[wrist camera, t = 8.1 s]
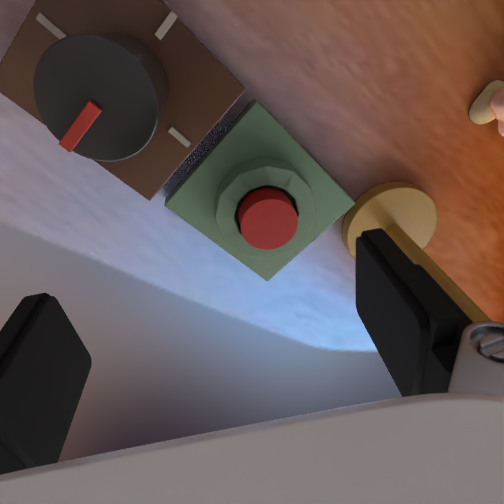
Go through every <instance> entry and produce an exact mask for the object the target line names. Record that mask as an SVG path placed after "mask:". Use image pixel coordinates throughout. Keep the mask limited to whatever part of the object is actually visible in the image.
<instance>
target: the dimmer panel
mask: <svg viewBox="0 0 504 504" xmlns="http://www.w3.org/2000/svg"><path fill="white" fill-rule="evenodd" d="M177 17H178V16H177V15H176V14H175V13H174V12H173V11H171V10H170V9H169V8H168V7H167V6H166V5H165V4H164V3H163V2H162V1H161V0H36V1H35V3H34V5H33V6H32V8H31V10H30V12H29V14H28V15H27V17H26V19H25V21H24V22H23V24H22V26H21V28H20V29H19V31H18V33H17V35H16V36H15V38H14V40H13V42H12V43H11V45H10V47H9V49H8V50H7V52H6V54H5V56H4V57H3V59H2V61H1V63H0V93H2V94H3V95H5V96H6V97H7V98H9V99H10V100H11V101H13V102H14V103H16V104H17V105H18V106H20V107H21V108H23V109H24V110H25V111H27V112H28V113H29V114H31V115H32V116H34V117H35V118H36V119H38V120H39V121H40V122H42V123H43V124H45V123H44V121H43V120H42V118H41V116H40V114H39V111H38V108H37V106H36V102H35V98H34V90H33V79H34V73H35V69H36V66H37V63H38V61H39V59H40V57H41V56H42V54H43V53H44V52H45V50H46V49H47V48H48V47H49V46H50V45H52V44H53V43H55V42H56V41H58V40H59V39H62V38H64V37H67V36H71V35H75V34H92V33H120V34H124V35H127V36H130V37H133V38H135V39H137V40H138V41H140V42H141V43H143V44H144V45H145V46H147V47H148V48H149V49H150V50H151V51H152V52H153V53H154V54H155V56H156V57H157V58H158V60H159V61H160V63H161V65H162V67H163V69H164V71H165V73H166V77H167V80H168V86H169V100H168V105H167V108H166V111H165V113H164V115H163V117H162V119H161V121H160V123H159V125H158V127H157V129H156V131H155V133H154V135H153V137H152V139H151V140H150V142H149V143H148V144H147V145H146V147H145V148H144V149H143V150H141V151H140V152H139V153H137V154H135V155H134V156H132V157H129V158H127V159H124V160H120V161H111V162H109V161H98V160H94V161H95V162H97V163H98V164H100V165H101V166H102V167H104V168H105V169H106V170H108V171H109V172H111V173H112V174H113V175H115V176H116V177H117V178H119V179H120V180H122V181H123V182H124V183H126V184H127V185H128V186H130V187H131V188H133V189H134V190H135V191H137V192H138V193H139V194H141V195H142V196H144V197H145V198H146V199H148V200H149V201H150V200H151V199H152V198H153V197H154V196H155V194H156V193H157V192H158V191H159V190H160V189H161V188H162V186H163V185H164V184H165V183H166V182H167V181H168V179H169V178H170V177H171V176H172V175H173V174H174V173H175V171H176V170H177V169H178V168H179V167H180V166H181V164H182V163H183V162H184V161H185V160H186V159H187V157H188V156H189V155H190V154H191V153H192V152H193V151H194V149H195V148H196V147H197V146H198V145H199V144H200V142H201V141H202V140H203V139H204V138H205V137H206V135H207V134H208V133H209V132H210V131H211V130H212V129H213V127H214V126H215V125H216V124H217V123H218V122H219V120H220V119H221V118H222V117H223V116H224V115H225V113H226V112H227V111H228V110H229V109H230V108H231V107H232V105H233V104H234V103H235V102H236V101H237V100H238V98H239V97H240V96H241V95H242V94H243V93H244V91H245V88H244V87H243V85H242V84H241V83H240V82H239V81H238V80H237V79H236V78H235V77H234V76H233V74H232V73H231V72H230V71H229V70H228V69H227V68H226V67H225V66H224V65H223V64H222V63H221V62H220V61H219V60H218V59H217V58H216V57H215V56H214V55H213V54H212V53H211V52H210V51H209V50H208V49H207V48H206V47H205V45H204V44H203V43H202V42H201V41H200V40H199V39H198V38H197V37H196V36H195V35H194V34H193V33H192V32H191V31H190V30H189V29H188V28H187V27H186V26H185V25H184V24H183V23H182V22H181V21H180V20H179V19H178V18H177ZM45 125H46V124H45Z"/></svg>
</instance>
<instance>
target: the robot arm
mask: <svg viewBox="0 0 504 504" xmlns="http://www.w3.org/2000/svg"><path fill="white" fill-rule="evenodd" d="M356 308H357V312H358V314H359V316H360V318H361V320H362V322H363V324H364V326H365V328H366V329H367V331H368V333H369V335H370V337H371V339H372V341H373V343H374V344H375V346H376V348H377V350H378V352H379V354H380V356H381V357H382V359H383V361H384V363H385V365H386V367H387V369H388V371H389V372H390V374H391V376H392V378H393V380H394V382H395V384H396V386H397V387H398V389H399V391H400V393H401V395H402V397H399V398H393V399H387V400H381V401H375V402H370V403H364V404H359V405H352V406H347V407H341V408H335V409H330V410H325V411H319V412H314V413H309V414H303V415H298V416H293V417H288V418H283V419H277V420H272V421H267V422H262V423H256V424H251V425H245V426H241V427H236V428H230V429H225V430H220V431H215V432H209V433H204V434H199V435H194V436H189V437H184V438H179V439H174V440H169V441H163V442H159V443H153V444H148V445H143V446H138V447H133V448H128V449H123V450H118V451H113V452H108V453H103V454H99V455H93V456H88V457H83V458H78V459H73V460H69V461H63V462H59V463H58V460H59V457H60V454H61V451H62V448H63V445H64V442H65V440H66V437H67V434H68V431H69V428H70V425H71V422H72V419H73V417H74V414H75V411H76V408H77V405H78V403H79V400H80V397H81V394H82V391H83V388H84V385H85V383H86V380H87V377H88V374H89V371H90V368H91V356H90V354H89V353H88V351H87V349H86V348H85V346H84V344H83V343H82V341H81V339H80V337H79V336H78V334H77V333H76V331H75V329H74V327H73V326H72V324H71V322H70V321H69V319H68V318H67V316H66V314H65V312H64V310H63V309H62V307H61V305H60V304H59V302H58V300H57V299H56V298H55V297H54V296H50V295H49V294H47V293H42V294H36V295H31V296H27V297H24V298H23V299H22V301H21V302H20V304H19V305H18V306H17V308H16V309H15V311H14V312H13V313H12V315H11V316H10V318H9V319H8V321H7V322H6V324H5V325H4V327H3V328H2V329H1V331H0V504H504V323H502V322H496V321H479V322H475V323H474V322H473V321H472V320H471V319H470V318H469V317H468V316H467V315H466V314H465V313H464V312H463V310H462V309H461V308H460V307H459V306H458V305H457V304H456V303H455V302H454V301H453V300H452V298H451V297H450V296H449V295H448V294H447V293H446V292H445V291H444V290H443V289H442V288H441V286H440V285H439V284H438V283H437V282H436V281H435V280H434V279H433V278H432V277H431V276H430V274H429V273H428V272H427V271H426V270H425V269H424V268H423V267H422V266H421V265H419V264H414V263H413V262H412V261H411V260H410V259H409V258H408V256H407V255H406V254H405V253H404V252H403V251H402V250H401V249H400V248H399V246H398V245H397V244H396V243H395V242H394V241H393V240H392V239H391V237H390V236H389V235H388V234H387V233H386V232H385V231H384V230H383V229H382V228H377V229H372V230H367V231H363V232H362V233H361V236H360V237H357V238H356Z"/></svg>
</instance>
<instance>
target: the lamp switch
mask: <svg viewBox="0 0 504 504" xmlns="http://www.w3.org/2000/svg"><path fill="white" fill-rule="evenodd" d="M239 222H240V228H241V232H242V235H243V237H244V239H245V240H246V241H247V242H248V243H249V244H250V245H252V246H253V247H255V248H258V249H262V250H272V249H277V248H279V247H282V246H284V245H285V244H287V243H288V242H289V241H290V240H291V239H292V238H293V236H294V235H295V233H296V230H297V227H298V217H297V214H296V211H295V209H294V207H293V205H292V203H291V201H290V199H289V198H288V197H287V196H286V194H284V193H283V192H281V191H280V190H277V189H274V188H262V189H258V190H255V191H253V192H252V193H250V194H249V195H248V196H246V198H245V199H244V200H243V201H242V203H241V205H240V208H239Z"/></svg>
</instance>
